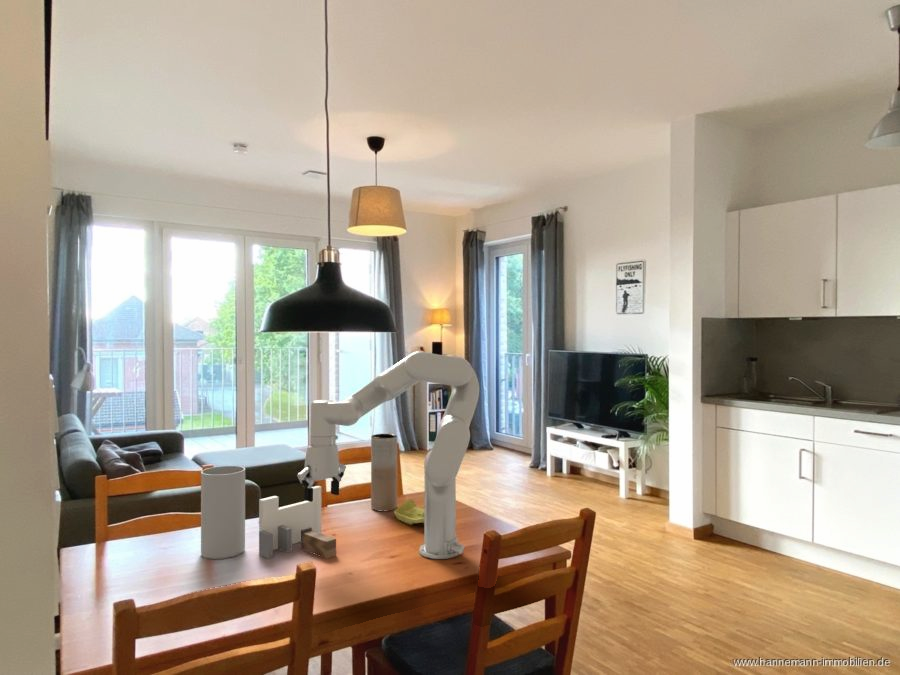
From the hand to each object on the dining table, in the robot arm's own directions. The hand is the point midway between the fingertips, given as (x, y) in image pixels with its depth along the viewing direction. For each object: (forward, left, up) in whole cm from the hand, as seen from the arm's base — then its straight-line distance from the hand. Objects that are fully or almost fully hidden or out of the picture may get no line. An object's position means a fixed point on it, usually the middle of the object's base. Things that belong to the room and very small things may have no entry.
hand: (322, 497), depth 176 cm
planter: (+21, -45, -17) cm, 53 cm away
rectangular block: (+2, 0, -17) cm, 17 cm away
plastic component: (-2, -41, -17) cm, 44 cm away
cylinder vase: (+24, +19, -17) cm, 35 cm away
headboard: (+12, +1, -17) cm, 21 cm away
